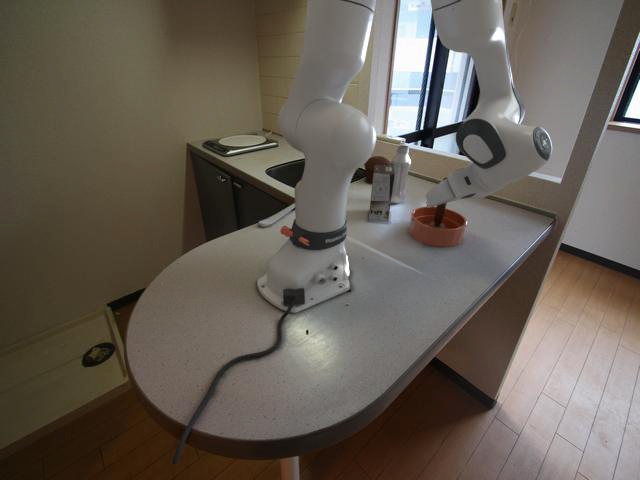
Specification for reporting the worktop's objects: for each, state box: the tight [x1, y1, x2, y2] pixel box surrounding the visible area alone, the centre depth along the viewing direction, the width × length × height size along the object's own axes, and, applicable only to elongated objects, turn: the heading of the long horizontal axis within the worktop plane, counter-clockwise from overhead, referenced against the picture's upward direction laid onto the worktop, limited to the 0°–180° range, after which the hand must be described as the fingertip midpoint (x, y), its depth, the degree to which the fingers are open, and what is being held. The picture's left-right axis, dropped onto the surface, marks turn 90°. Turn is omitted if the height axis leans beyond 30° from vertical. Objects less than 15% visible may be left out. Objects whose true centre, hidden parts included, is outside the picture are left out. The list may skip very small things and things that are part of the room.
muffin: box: [363, 155, 392, 184], centre depth 132 cm, size 12×11×10 cm
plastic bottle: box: [390, 144, 412, 205], centre depth 110 cm, size 6×7×20 cm
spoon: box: [258, 202, 295, 228], centre depth 109 cm, size 35×8×3 cm, turn 144°
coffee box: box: [368, 165, 395, 223], centre depth 100 cm, size 9×6×16 cm
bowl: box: [408, 205, 468, 248], centre depth 93 cm, size 15×15×6 cm
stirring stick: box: [429, 176, 448, 229], centre depth 89 cm, size 4×4×17 cm
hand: (440, 201), depth 89 cm, fingers open, 8 cm apart
